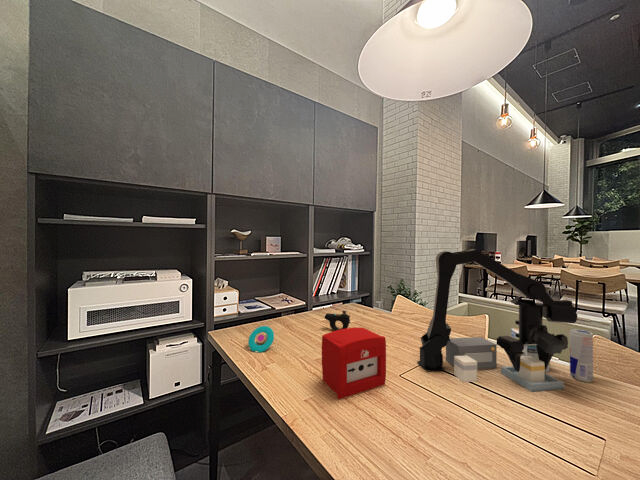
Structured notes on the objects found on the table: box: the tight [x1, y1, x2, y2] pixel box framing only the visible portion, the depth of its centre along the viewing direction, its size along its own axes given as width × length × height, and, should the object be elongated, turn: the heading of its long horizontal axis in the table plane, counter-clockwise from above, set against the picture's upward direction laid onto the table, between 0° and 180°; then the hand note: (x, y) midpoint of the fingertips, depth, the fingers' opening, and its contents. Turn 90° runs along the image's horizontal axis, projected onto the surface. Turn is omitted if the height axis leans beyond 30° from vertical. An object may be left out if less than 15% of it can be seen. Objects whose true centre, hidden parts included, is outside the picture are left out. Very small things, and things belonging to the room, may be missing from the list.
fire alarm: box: [321, 327, 387, 400], centre depth 77 cm, size 16×11×15 cm
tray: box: [500, 365, 565, 393], centre depth 79 cm, size 11×11×2 cm
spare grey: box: [453, 355, 478, 383], centre depth 81 cm, size 5×5×6 cm
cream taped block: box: [518, 356, 545, 383], centre depth 79 cm, size 5×5×6 cm
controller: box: [324, 310, 351, 331], centre depth 122 cm, size 4×12×10 cm, turn 70°
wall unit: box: [445, 336, 498, 370], centre depth 90 cm, size 14×8×8 cm, turn 97°
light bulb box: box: [510, 328, 550, 372], centre depth 91 cm, size 11×7×11 cm, turn 168°
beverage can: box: [569, 328, 594, 383], centre depth 81 cm, size 5×5×15 cm
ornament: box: [248, 325, 275, 353], centre depth 103 cm, size 11×4×10 cm
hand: (530, 370), depth 79 cm, fingers open, 9 cm apart
